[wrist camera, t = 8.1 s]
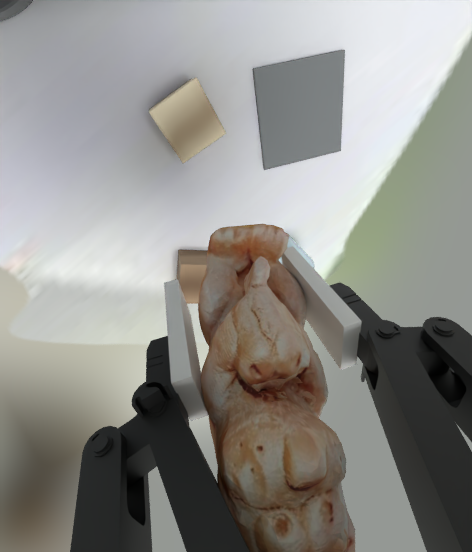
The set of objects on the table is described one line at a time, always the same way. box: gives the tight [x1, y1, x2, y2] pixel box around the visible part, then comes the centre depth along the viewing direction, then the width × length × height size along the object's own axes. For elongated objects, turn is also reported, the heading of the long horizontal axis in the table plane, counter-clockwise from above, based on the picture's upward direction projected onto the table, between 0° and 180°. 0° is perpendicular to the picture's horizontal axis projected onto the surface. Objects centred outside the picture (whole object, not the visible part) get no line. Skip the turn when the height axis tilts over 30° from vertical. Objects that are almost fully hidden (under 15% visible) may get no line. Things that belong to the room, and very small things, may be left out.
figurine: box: [198, 224, 355, 552], centre depth 13 cm, size 6×8×15 cm
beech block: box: [149, 78, 226, 163], centre depth 28 cm, size 5×5×5 cm
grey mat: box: [253, 50, 345, 170], centre depth 32 cm, size 10×10×1 cm
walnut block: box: [177, 250, 208, 304], centre depth 38 cm, size 6×4×4 cm, turn 170°
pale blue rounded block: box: [279, 237, 314, 269], centre depth 39 cm, size 5×5×6 cm
